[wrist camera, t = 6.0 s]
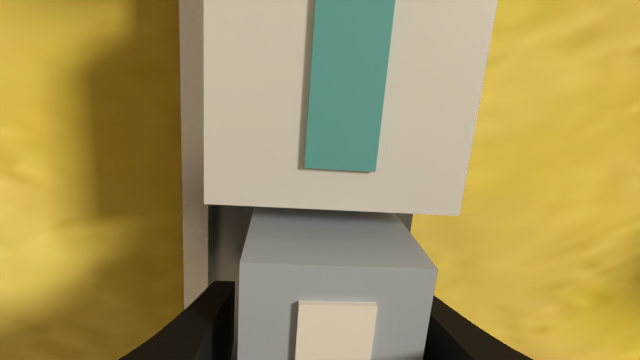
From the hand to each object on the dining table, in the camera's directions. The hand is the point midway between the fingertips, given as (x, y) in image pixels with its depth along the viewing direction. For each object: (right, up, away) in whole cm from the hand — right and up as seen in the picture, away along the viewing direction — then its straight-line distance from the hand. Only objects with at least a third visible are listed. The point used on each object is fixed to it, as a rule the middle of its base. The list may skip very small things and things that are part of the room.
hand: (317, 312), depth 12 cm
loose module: (0, +1, +2) cm, 3 cm away
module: (0, +7, +1) cm, 7 cm away
